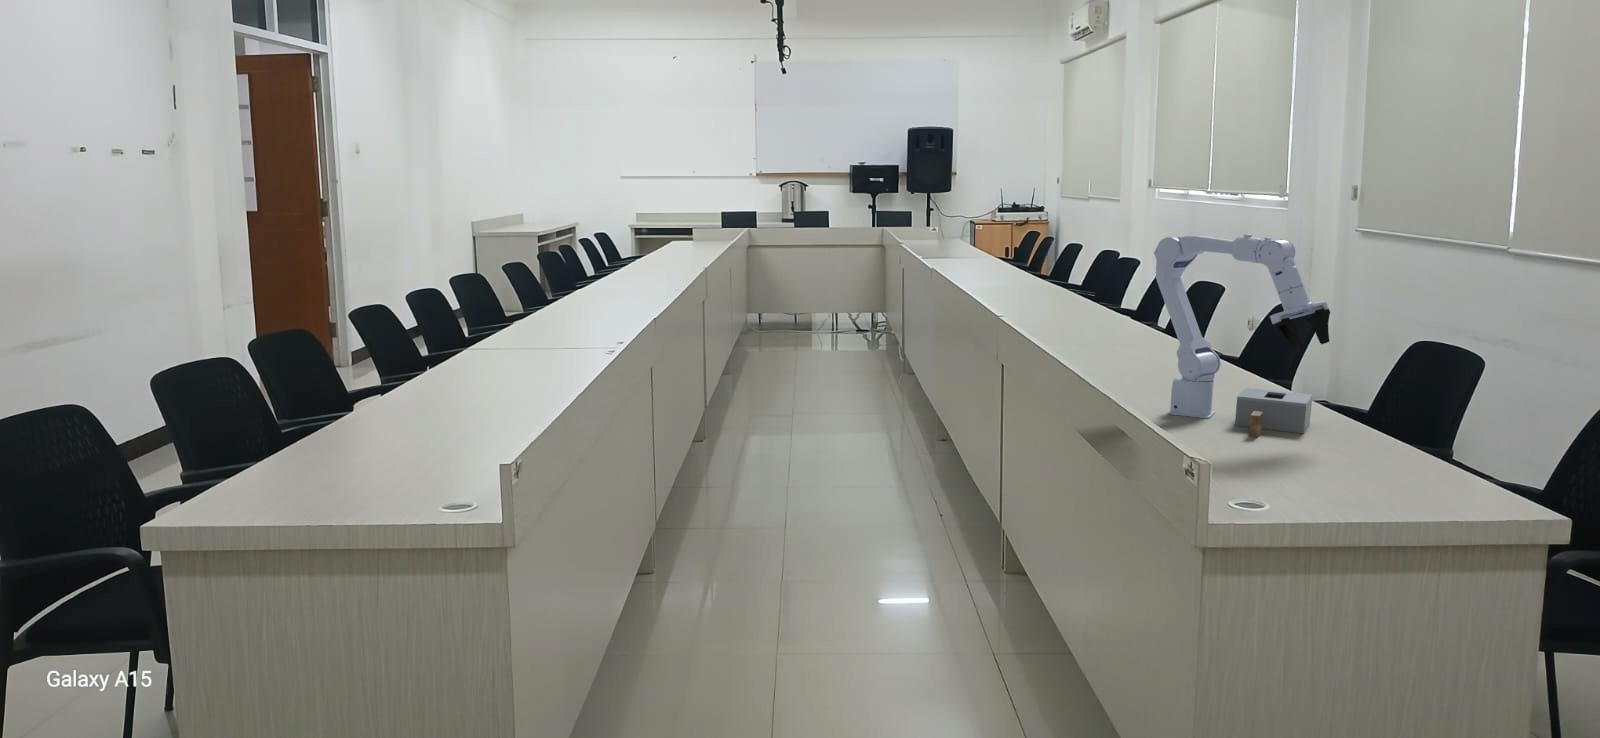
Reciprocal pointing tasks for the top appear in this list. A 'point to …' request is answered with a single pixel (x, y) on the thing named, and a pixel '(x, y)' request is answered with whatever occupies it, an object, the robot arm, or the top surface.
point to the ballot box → (1275, 409)
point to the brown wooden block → (1255, 424)
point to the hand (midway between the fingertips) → (1312, 346)
